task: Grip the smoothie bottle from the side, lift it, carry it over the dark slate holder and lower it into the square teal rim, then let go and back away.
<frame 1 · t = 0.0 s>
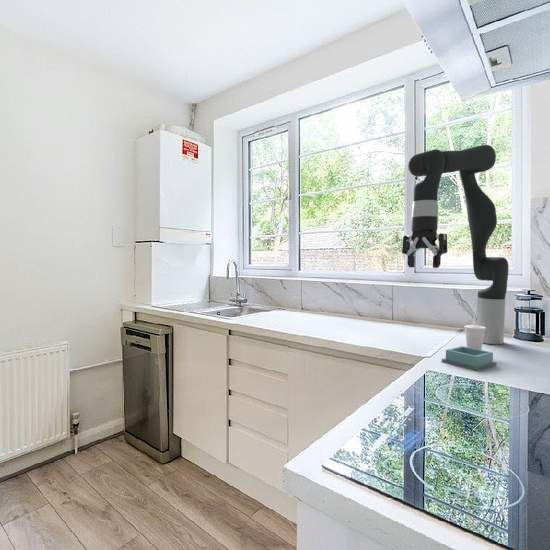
hand: (423, 267, 111), 29 cm above the worktop, tool pointing down, fingers open, 8 cm apart
smoothie: (473, 355, 117), on the worktop
holder: (468, 363, 108), on the worktop
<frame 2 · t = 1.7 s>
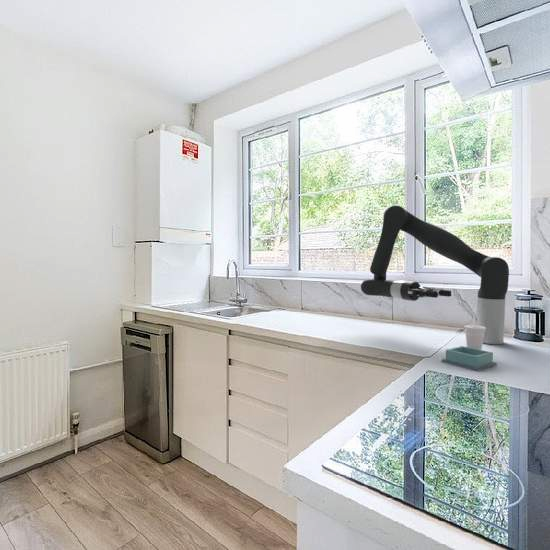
hand: (444, 294, 125), 20 cm above the worktop, tool horizontal, fingers open, 8 cm apart
nothing on the worktop moved.
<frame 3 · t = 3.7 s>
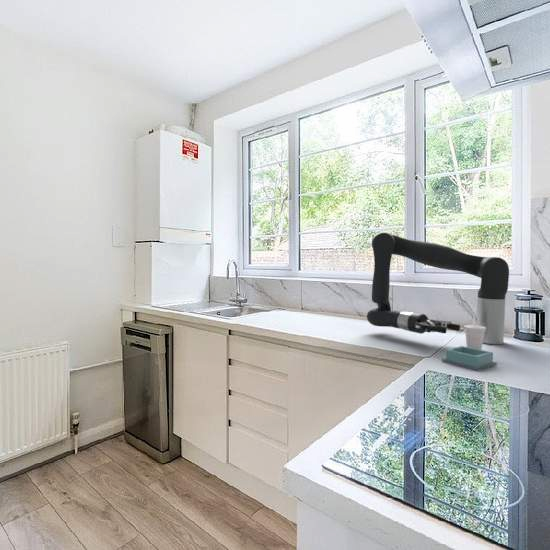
hand: (452, 329, 123), 8 cm above the worktop, tool horizontal, fingers open, 8 cm apart
nothing on the worktop moved.
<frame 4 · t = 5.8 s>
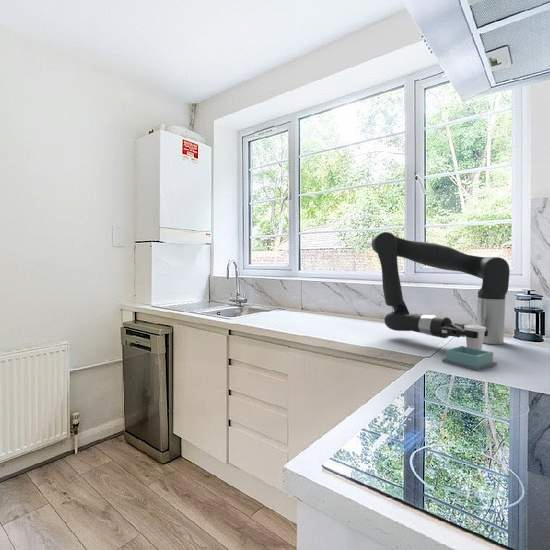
hand: (482, 334, 115), 8 cm above the worktop, tool horizontal, fingers closed on smoothie, 6 cm apart
smoothie: (473, 355, 117), on the worktop, touching gripper
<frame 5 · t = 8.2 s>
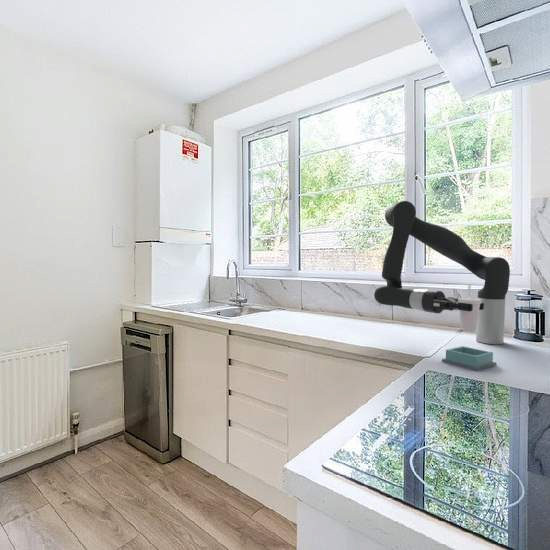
hand: (477, 307, 105), 18 cm above the worktop, tool horizontal, fingers closed on smoothie, 6 cm apart
smoothie: (468, 331, 108), point 10 cm above the worktop, touching gripper
when the fingers open (9 cm above the worktop, at t = 10.7 s): smoothie moves 1 cm, resting on holder.
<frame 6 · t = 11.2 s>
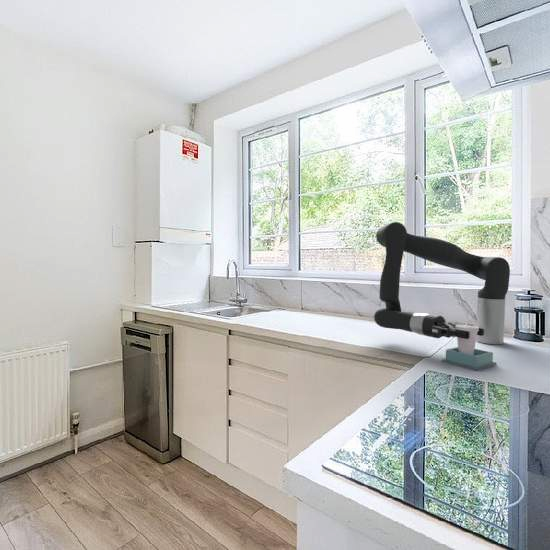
hand: (476, 333, 106), 9 cm above the worktop, tool horizontal, fingers open, 8 cm apart
smoothie: (465, 358, 107), point 2 cm above the worktop, touching gripper, holder
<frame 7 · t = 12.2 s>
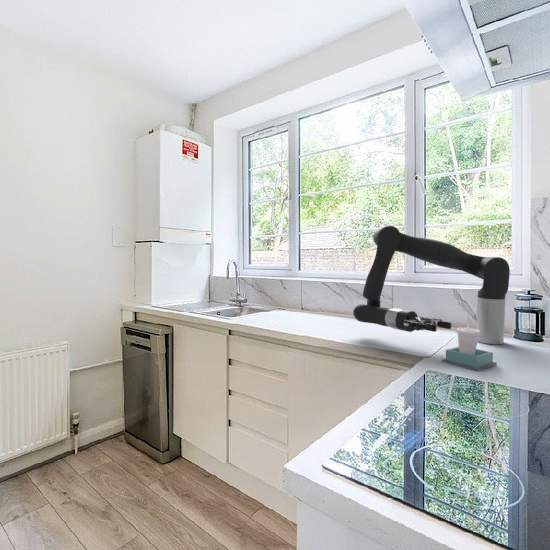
hand: (443, 327, 114), 10 cm above the worktop, tool horizontal, fingers open, 8 cm apart
smoothie: (466, 361, 107), point 1 cm above the worktop, touching holder
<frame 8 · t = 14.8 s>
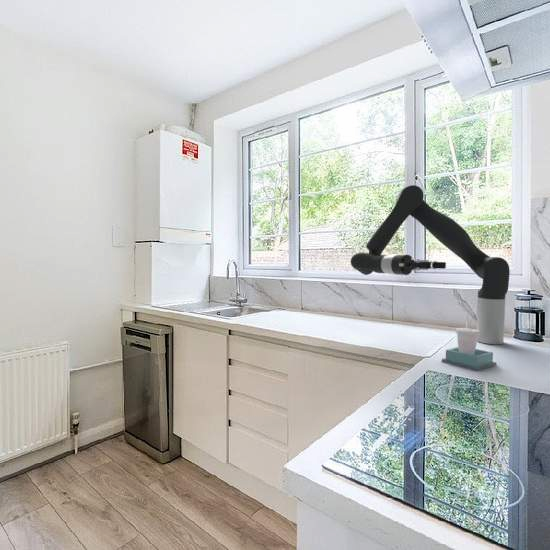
hand: (438, 265, 116), 30 cm above the worktop, tool horizontal, fingers open, 8 cm apart
nothing on the worktop moved.
at the end: smoothie 1.0 cm from the holder (horizontally); smoothie point 0.6 cm above the worktop; smoothie tilted 0° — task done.
